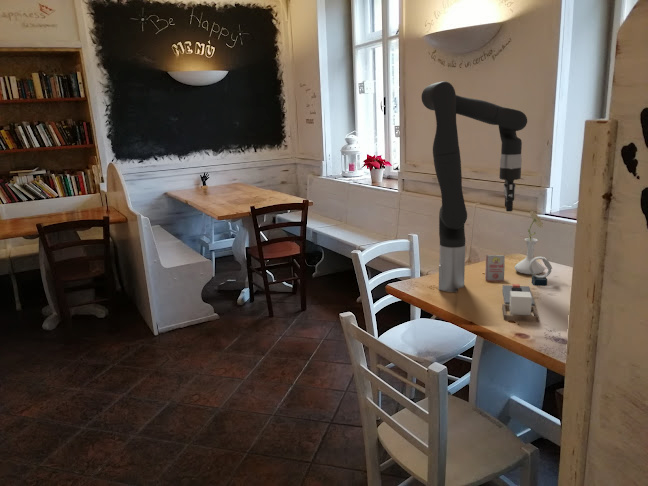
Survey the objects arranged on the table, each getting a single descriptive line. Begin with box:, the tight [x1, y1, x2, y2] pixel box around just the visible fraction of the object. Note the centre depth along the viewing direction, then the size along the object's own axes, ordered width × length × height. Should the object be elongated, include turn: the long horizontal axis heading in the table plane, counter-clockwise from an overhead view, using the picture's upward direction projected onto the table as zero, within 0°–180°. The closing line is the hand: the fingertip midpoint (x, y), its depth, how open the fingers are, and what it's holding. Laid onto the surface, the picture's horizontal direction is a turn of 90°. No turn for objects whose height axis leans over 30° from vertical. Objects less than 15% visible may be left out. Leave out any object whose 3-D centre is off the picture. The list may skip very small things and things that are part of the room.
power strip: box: [501, 283, 536, 307], centre depth 175 cm, size 9×17×4 cm, turn 164°
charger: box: [509, 291, 533, 316], centre depth 162 cm, size 6×5×8 cm
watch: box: [529, 255, 553, 287], centre depth 191 cm, size 6×8×11 cm
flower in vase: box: [514, 210, 546, 275], centre depth 205 cm, size 13×11×25 cm
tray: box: [501, 303, 540, 323], centre depth 162 cm, size 10×9×3 cm
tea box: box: [484, 254, 506, 282], centre depth 199 cm, size 4×7×10 cm, turn 76°
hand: (508, 209), depth 194 cm, fingers open, 8 cm apart
